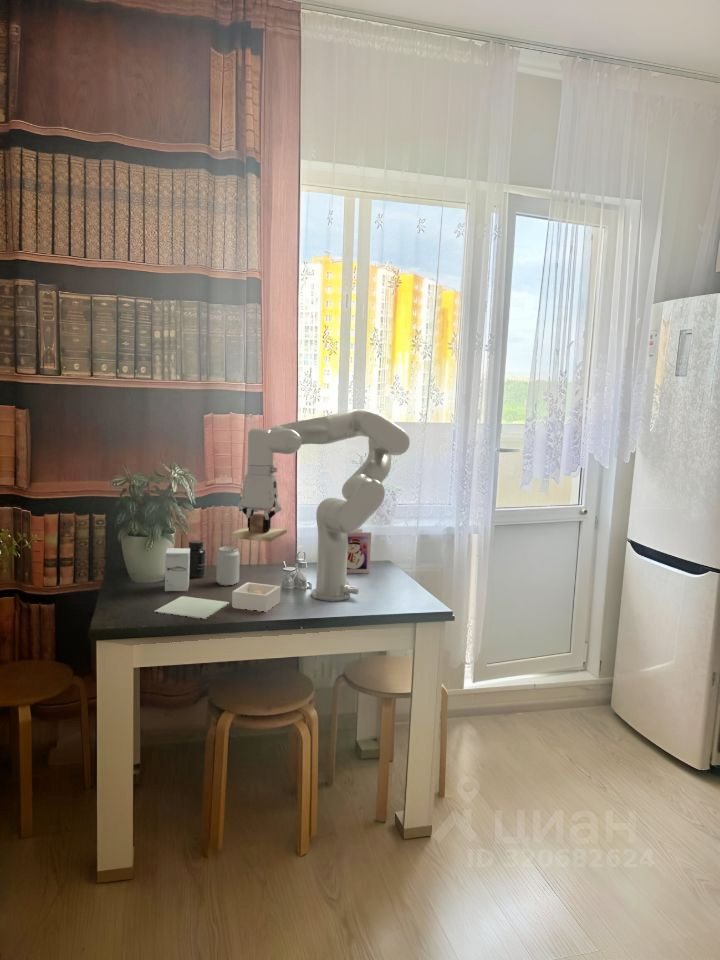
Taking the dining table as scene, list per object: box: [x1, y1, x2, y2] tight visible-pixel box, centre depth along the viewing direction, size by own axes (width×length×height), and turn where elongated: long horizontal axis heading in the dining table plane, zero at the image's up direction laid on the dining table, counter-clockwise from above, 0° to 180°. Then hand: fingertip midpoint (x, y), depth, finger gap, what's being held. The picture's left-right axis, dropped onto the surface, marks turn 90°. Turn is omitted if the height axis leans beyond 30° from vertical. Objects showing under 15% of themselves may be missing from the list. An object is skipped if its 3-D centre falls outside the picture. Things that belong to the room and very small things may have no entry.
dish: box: [231, 581, 282, 613], centre depth 222 cm, size 11×11×5 cm
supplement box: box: [164, 547, 190, 592], centre depth 235 cm, size 7×7×13 cm
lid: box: [228, 513, 288, 543], centre depth 219 cm, size 13×13×6 cm
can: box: [215, 546, 241, 587], centre depth 243 cm, size 8×8×12 cm
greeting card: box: [346, 528, 372, 574], centre depth 266 cm, size 11×7×15 cm, turn 101°
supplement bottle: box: [187, 539, 207, 579], centre depth 251 cm, size 7×7×12 cm
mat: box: [154, 595, 230, 620], centre depth 217 cm, size 16×16×1 cm
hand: (258, 530), depth 219 cm, fingers closed on lid, 4 cm apart
